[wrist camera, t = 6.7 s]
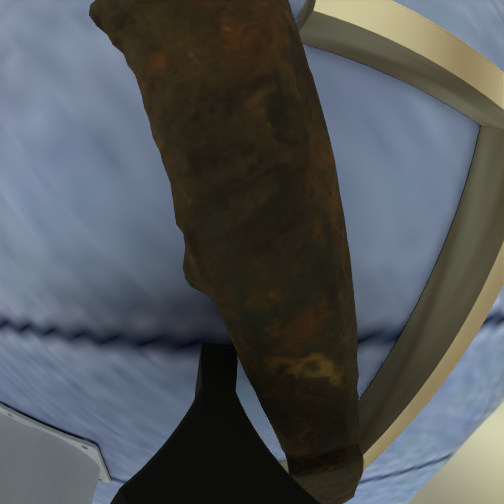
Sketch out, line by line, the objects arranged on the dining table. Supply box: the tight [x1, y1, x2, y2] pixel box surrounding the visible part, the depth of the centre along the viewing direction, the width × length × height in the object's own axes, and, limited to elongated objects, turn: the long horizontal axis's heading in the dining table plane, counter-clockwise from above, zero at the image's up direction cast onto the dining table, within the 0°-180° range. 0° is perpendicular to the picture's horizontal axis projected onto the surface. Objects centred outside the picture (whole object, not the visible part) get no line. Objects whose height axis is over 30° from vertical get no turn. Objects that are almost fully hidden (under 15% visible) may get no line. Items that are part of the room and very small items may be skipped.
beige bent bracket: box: [278, 0, 504, 473], centre depth 11 cm, size 9×24×3 cm, turn 167°
